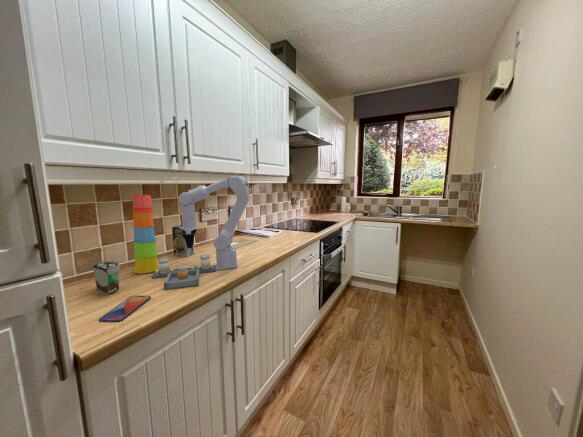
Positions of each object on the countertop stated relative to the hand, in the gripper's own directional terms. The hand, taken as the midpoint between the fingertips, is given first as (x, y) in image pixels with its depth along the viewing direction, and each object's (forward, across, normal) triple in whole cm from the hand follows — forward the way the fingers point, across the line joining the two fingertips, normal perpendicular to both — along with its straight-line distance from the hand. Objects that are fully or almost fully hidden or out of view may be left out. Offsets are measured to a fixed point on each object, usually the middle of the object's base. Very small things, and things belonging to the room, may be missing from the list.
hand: (190, 246), depth 116 cm
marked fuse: (+9, +19, -2) cm, 21 cm away
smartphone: (+10, +36, -17) cm, 41 cm away
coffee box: (+10, -20, -5) cm, 23 cm away
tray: (+10, +19, -2) cm, 22 cm away
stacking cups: (+10, 0, -19) cm, 22 cm away
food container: (+10, +18, -27) cm, 34 cm away
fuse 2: (+9, +8, +6) cm, 14 cm away
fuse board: (+10, +8, -2) cm, 13 cm away
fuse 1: (+9, +8, -10) cm, 16 cm away
